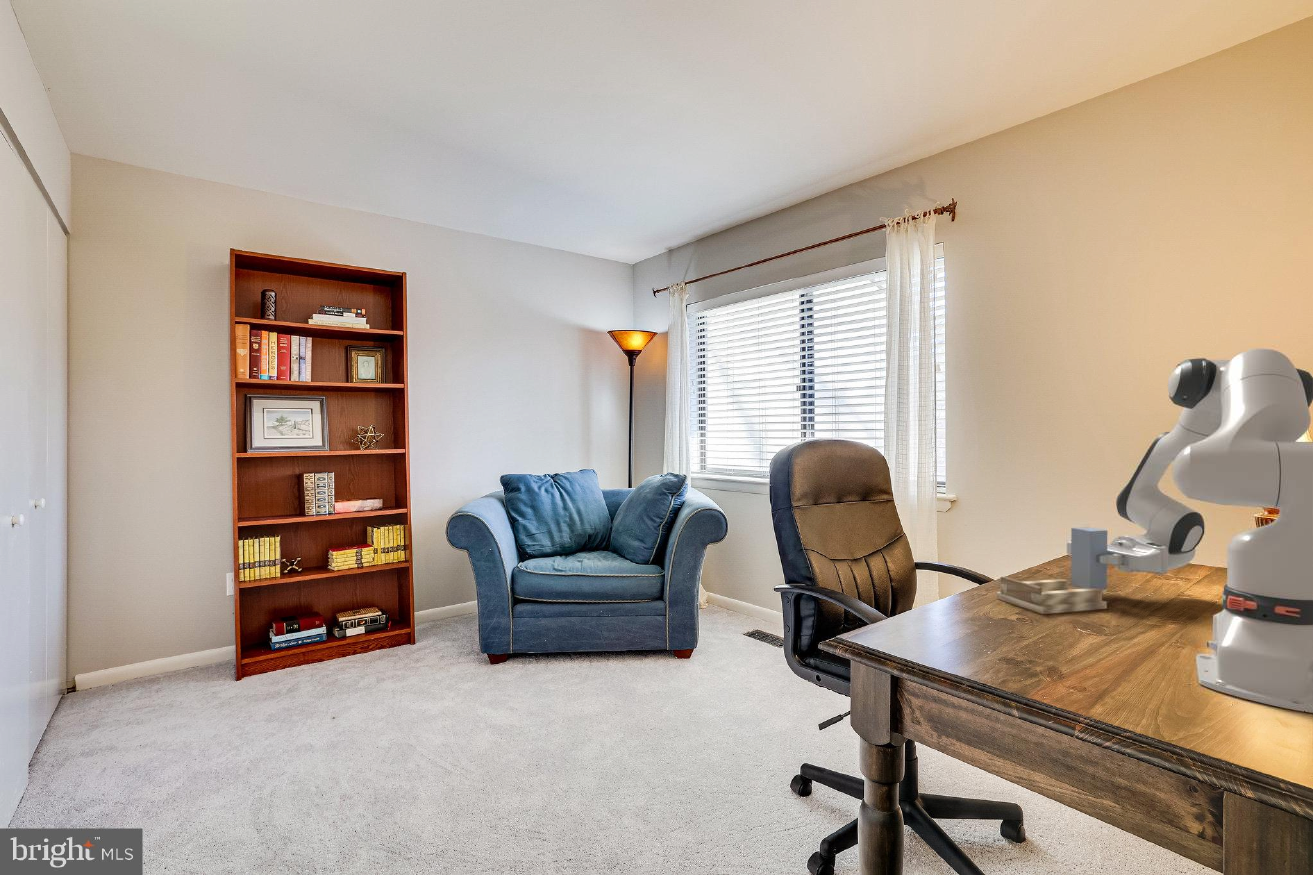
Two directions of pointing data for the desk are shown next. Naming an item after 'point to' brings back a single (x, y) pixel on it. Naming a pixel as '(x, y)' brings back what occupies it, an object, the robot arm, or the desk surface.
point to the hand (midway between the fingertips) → (1086, 556)
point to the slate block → (1088, 558)
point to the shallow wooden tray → (1049, 596)
